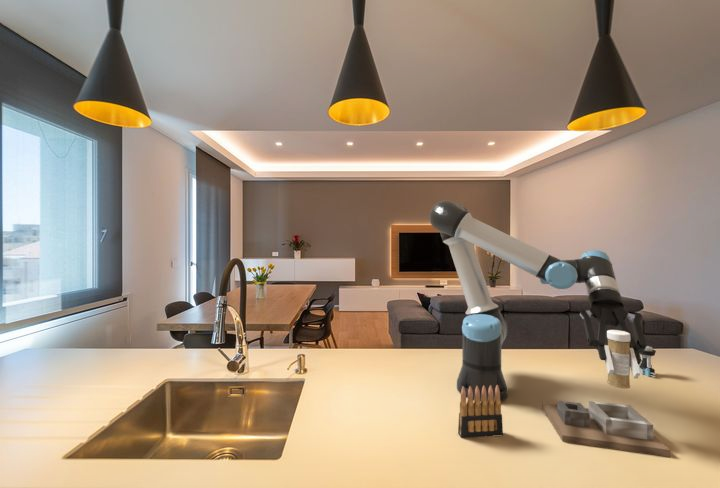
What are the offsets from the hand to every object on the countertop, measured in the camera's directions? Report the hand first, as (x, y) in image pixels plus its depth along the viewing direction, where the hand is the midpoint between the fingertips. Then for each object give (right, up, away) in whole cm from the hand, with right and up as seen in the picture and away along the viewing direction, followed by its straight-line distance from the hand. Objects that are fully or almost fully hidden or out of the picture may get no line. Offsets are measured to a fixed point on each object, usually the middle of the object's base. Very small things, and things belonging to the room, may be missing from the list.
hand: (623, 373), depth 76 cm
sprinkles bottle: (+2, -4, +3) cm, 6 cm away
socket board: (-3, -16, +4) cm, 17 cm away
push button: (+41, -17, +39) cm, 59 cm away
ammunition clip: (-34, -16, +2) cm, 37 cm away
